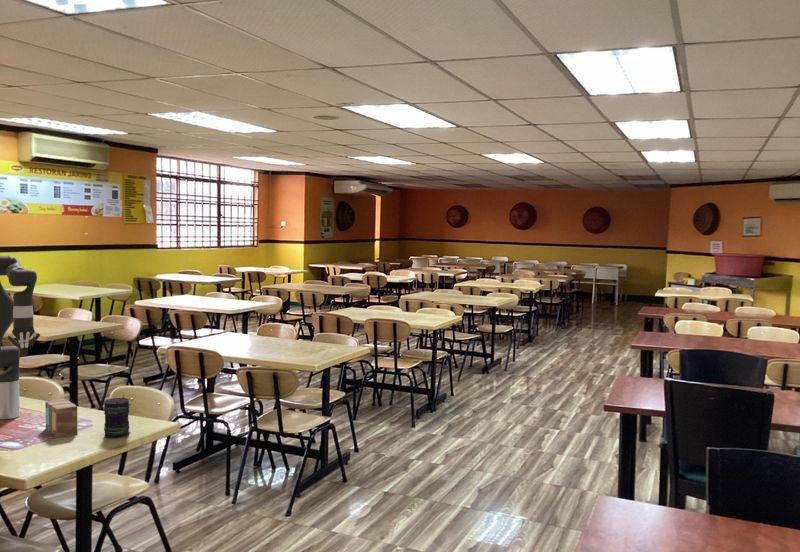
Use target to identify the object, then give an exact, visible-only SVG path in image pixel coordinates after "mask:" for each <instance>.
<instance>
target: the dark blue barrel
mask: <svg viewBox="0 0 800 552" xmlns="http://www.w3.org/2000/svg"><path fill="white" fill-rule="evenodd" d="M129 402H130V399H129V398H127V397H124V398H123V397H114V398H109V399H106V400H104V402H103V403H104V405H103V411H104V412H103V413H104V428H103V429H104V438H105V439H114V440H115V439H121V438H125V437H129V435H130V421H129V413H130V406H129V404H130V403H129Z"/></svg>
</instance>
